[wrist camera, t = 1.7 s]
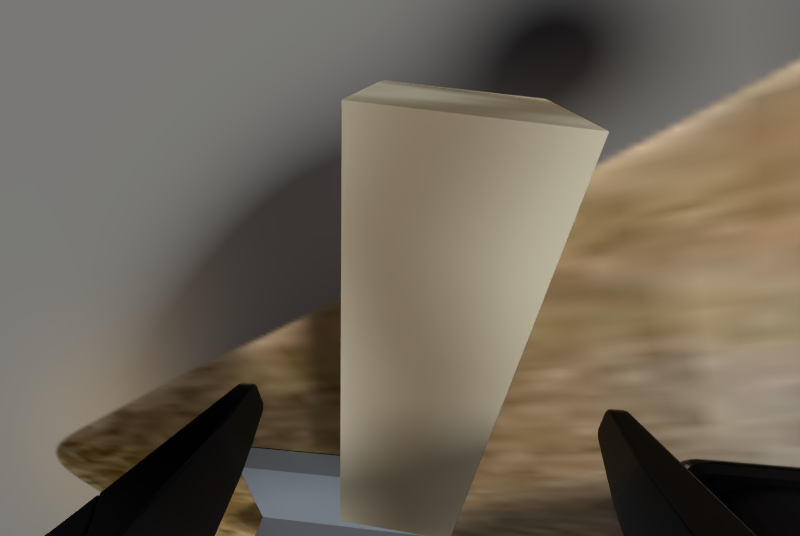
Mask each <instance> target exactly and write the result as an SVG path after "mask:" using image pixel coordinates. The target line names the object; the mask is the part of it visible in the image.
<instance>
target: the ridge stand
mask: <svg viewBox="0 0 800 536" xmlns="http://www.w3.org/2000/svg"><path fill="white" fill-rule="evenodd" d="M242 476H243V478H244V480H245V482H246V484H247V486H248V488H249V490H250V492H251V494H252V496H253V498H254V500H255V502H256V504H257V506H258V508H259V510H260V512H261V514H262V516H263V518H262V520H261V523H260V525H259V528H258V530H257V533H256V535H255V536H424V535H418V534H412V533H407V532H401V531H395V530H390V529H384V528H379V527H373V526H367V525H362V524H356V523H350V522H345V521H340V456H337V455H326V454H315V453H305V452H294V451H283V450H272V449H262V448H251V449H250V452H249V455H248V458H247V461H246V464H245V467H244V469H243V472H242Z"/></svg>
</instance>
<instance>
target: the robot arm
mask: <svg viewBox="0 0 800 536" xmlns="http://www.w3.org/2000/svg"><path fill="white" fill-rule="evenodd" d="M262 412H263V402H262V399H261V396H260V394H259V391H258V388H257V386H256V385H255V384H248V383H241V384H239V385H237V386H236V387H234V388H233V389H232V390H231V391H229V392H228V393H227V394H226V395H224V396H223V397H222V398H220V399H219V400H218V401H217V402H215V403H214V404H213V405H212V406H210V407H209V408H208V409H206V410H205V411H204V412H203V413H201V414H200V415H199V416H198V417H196V418H195V419H194V420H193V421H191V422H190V423H189V424H187V425H186V426H185V427H184V428H182V429H181V430H180V431H179V432H177V433H176V434H175V435H173V436H172V437H171V438H170V439H168V440H167V441H166V442H165V443H163V444H162V445H161V446H159V447H158V448H157V449H156V450H154V451H153V452H152V453H151V454H149V455H148V456H147V457H145V458H144V459H143V460H142V461H140V462H139V463H138V464H137V465H135V466H134V467H133V468H131V469H130V470H129V471H128V472H126V473H125V474H124V475H123V476H121V477H120V478H119V479H118V480H116V481H115V482H114V483H112V484H111V485H110V486H109V487H107V488H106V489H105V490H104V491H102V492H101V493H100V496H96V497H95V498H93V499H92V500H91V501H89V502H88V503H87V504H86V505H84V506H83V507H82V508H81V509H79V510H78V511H77V512H75V513H74V514H73V515H71V516H70V517H69V518H67V519H66V520H65V521H64V522H62V523H61V524H60V525H58V526H57V527H56V528H54V529H53V530H52V531H51V532H49V533H48V534H46V535H45V536H215V534H216V532H217V529H218V527H219V525H220V522H221V520H222V518H223V515H224V513H225V511H226V509H227V506H228V504H229V502H230V499H231V497H232V495H233V493H234V490H235V488H236V486H237V483H238V481H239V479H240V477H241V474H242V472H243V469H244V467H245V464H246V461H247V458H248V455H249V452H250V449H251V446H252V443H253V440H254V436H255V433H256V430H257V427H258V424H259V421H260V418H261V415H262ZM598 440H599V444H600V448H601V453H602V457H603V461H604V466H605V470H606V474H607V479H608V483H609V487H610V492H611V496H612V500H613V504H614V507H615V510H616V514H617V517H618V520H619V523H620V526H621V529H622V531H623V534H624V536H800V471H788V470H777V469H765V468H753V467H741V466H730V465H718V464H696V465H693V466H691V467H690V468H689V469H687V468H686V467H685V466H683V465H682V464H681V463H680V462H679V461H678V460H677V459H676V458H675V457H674V456H673V455H672V454H671V453H670V452H669V451H668V450H667V449H666V448H665V447H664V446H663V445H662V444H661V443H660V442H659V441H658V440H657V439H655V438H654V437H653V436H652V435H651V434H650V433H649V432H648V431H647V430H646V429H645V428H644V427H643V426H642V425H641V424H640V423H639V422H638V421H637V420H636V419H635V418H634V417H633V416H632V415H631V414H629V413H628V412H626V411H624V410H613V409H609V410H607V411H606V412H605V415H604V417H603V419H602V422H601V424H600V427H599V429H598Z"/></svg>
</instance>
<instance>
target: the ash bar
mask: <svg viewBox="0 0 800 536" xmlns="http://www.w3.org/2000/svg"><path fill="white" fill-rule="evenodd" d="M608 133H609V132H608V131H607V130H605V129H603V128H601V127H599V126H597V125H595V124H593V123H591V122H589V121H588V120H586V119H583V118H582V117H580V116H577V115H576V114H574V113H572V112H570V111H568V110H566V109H564V108H562V107H560V106H558V105H556V104H554V103H552V102H550V101H549V100H547V99H542V98H532V97H525V96H516V95H506V94H499V93H490V92H480V91H473V90H472V91H471V90H464V89H455V88H447V87H438V86H428V85H420V84H412V83H403V82H394V81H386V80H382V81H380V82H378V83H376V84H374V85H372V86H369V87H367V88H365V89H363V90H361V91H359V92H357V93H355V94H353V95H351V96H349V97H347V98H345V99H342V168H341V169H342V171H341V173H342V174H341V419H340V521H345V522H350V523H356V524H362V525H367V526H373V527H379V528H384V529H390V530H395V531H401V532H407V533H412V534H418V535H424V536H451V535H452V532H453V530H454V527H455V525H456V522H457V520H458V517H459V514H460V512H461V509H462V507H463V504H464V502H465V499H466V496H467V494H468V491H469V489H470V486H471V484H472V481H473V479H474V476H475V473H476V471H477V468H478V466H479V463H480V461H481V458H482V456H483V453H484V450H485V448H486V445H487V443H488V440H489V438H490V435H491V433H492V430H493V427H494V425H495V422H496V420H497V417H498V415H499V412H500V409H501V407H502V404H503V402H504V399H505V397H506V394H507V392H508V389H509V386H510V384H511V381H512V379H513V376H514V374H515V371H516V369H517V366H518V363H519V361H520V358H521V356H522V353H523V351H524V348H525V345H526V343H527V340H528V338H529V335H530V333H531V330H532V328H533V325H534V322H535V320H536V317H537V315H538V312H539V310H540V307H541V305H542V302H543V299H544V297H545V294H546V292H547V289H548V287H549V284H550V281H551V279H552V276H553V274H554V271H555V269H556V266H557V264H558V261H559V258H560V256H561V253H562V251H563V248H564V246H565V243H566V241H567V238H568V235H569V233H570V230H571V228H572V225H573V223H574V220H575V217H576V215H577V212H578V210H579V207H580V205H581V202H582V200H583V197H584V194H585V192H586V189H587V187H588V184H589V182H590V179H591V177H592V174H593V171H594V169H595V166H596V164H597V161H598V158H599V156H600V153H601V151H602V148H603V146H604V143H605V141H606V138H607V136H608Z"/></svg>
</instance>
